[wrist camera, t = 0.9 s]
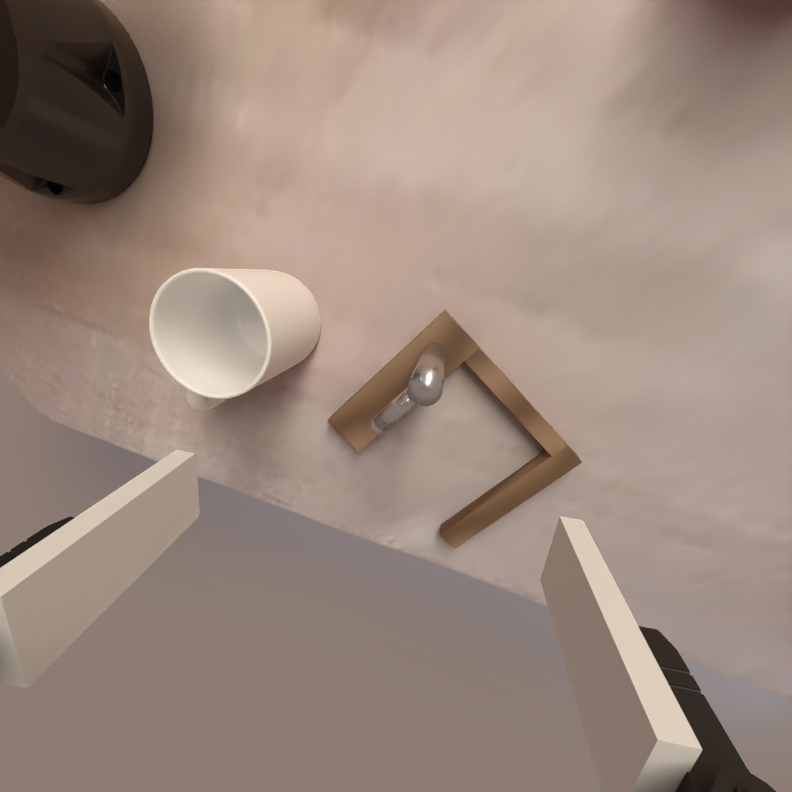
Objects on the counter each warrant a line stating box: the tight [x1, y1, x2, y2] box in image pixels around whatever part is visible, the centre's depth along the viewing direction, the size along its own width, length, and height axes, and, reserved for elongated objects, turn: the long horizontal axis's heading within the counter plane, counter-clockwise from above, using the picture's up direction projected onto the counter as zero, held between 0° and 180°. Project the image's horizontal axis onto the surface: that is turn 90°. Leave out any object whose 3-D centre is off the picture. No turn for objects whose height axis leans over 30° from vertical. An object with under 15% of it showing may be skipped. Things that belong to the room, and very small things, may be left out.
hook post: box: [370, 343, 446, 434], centre depth 28 cm, size 2×6×10 cm, turn 134°
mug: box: [149, 268, 321, 411], centre depth 30 cm, size 12×8×10 cm
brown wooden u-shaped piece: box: [328, 310, 582, 548], centre depth 34 cm, size 17×14×2 cm
